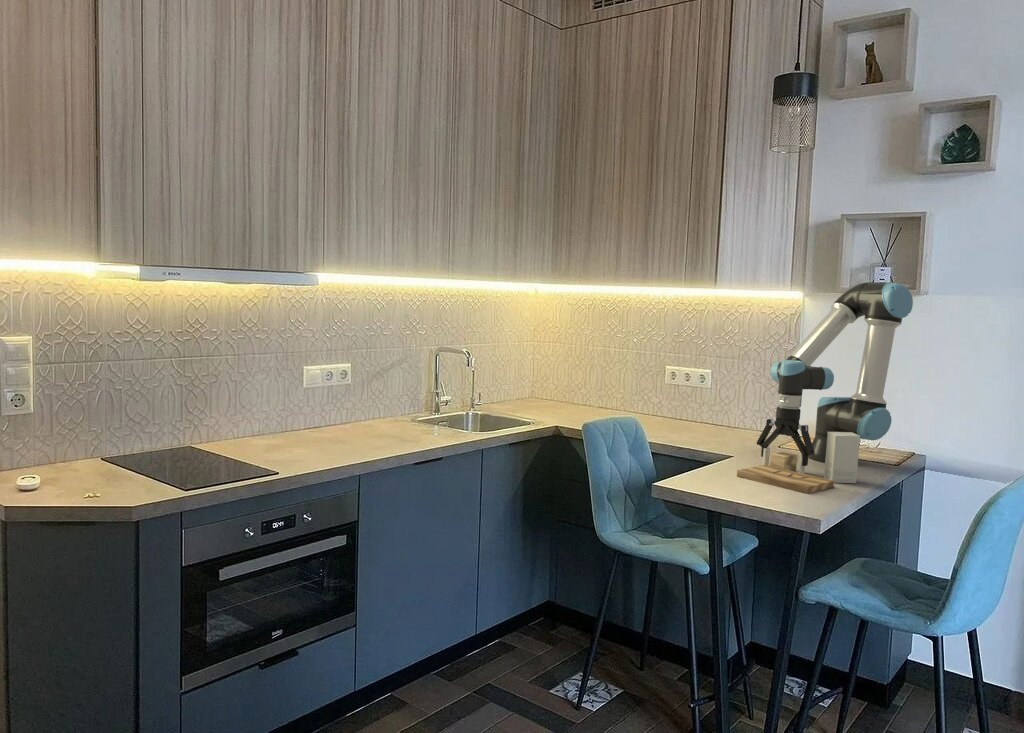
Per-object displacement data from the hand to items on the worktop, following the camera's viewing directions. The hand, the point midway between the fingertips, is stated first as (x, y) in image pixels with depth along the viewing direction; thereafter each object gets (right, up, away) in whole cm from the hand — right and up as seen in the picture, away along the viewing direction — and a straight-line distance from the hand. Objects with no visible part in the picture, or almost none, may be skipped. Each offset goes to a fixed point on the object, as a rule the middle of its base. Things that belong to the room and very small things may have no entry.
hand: (782, 471), depth 261 cm
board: (-4, -1, -14) cm, 15 cm away
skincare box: (+15, -2, -9) cm, 18 cm away
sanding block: (0, 0, 0) cm, 0 cm away
